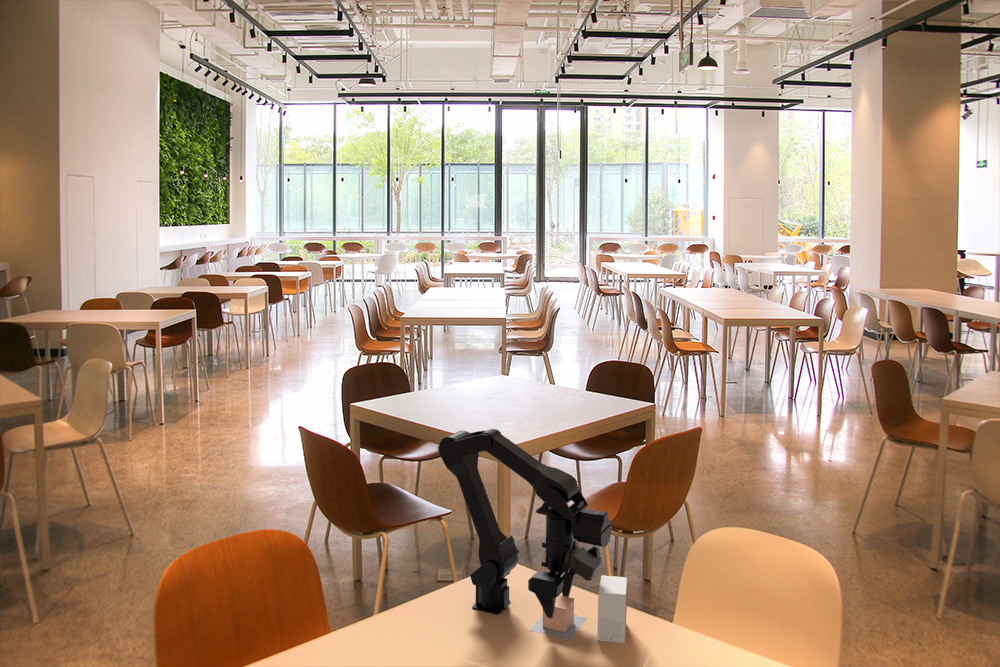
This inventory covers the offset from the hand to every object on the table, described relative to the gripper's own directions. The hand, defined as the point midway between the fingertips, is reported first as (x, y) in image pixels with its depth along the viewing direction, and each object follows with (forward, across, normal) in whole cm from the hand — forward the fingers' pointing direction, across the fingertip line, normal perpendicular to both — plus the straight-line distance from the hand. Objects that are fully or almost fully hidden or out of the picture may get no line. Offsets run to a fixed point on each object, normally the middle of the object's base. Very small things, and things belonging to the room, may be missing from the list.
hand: (558, 607), depth 160 cm
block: (+4, 0, 0) cm, 4 cm away
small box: (+4, +2, -11) cm, 12 cm away
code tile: (+4, 0, 0) cm, 4 cm away
